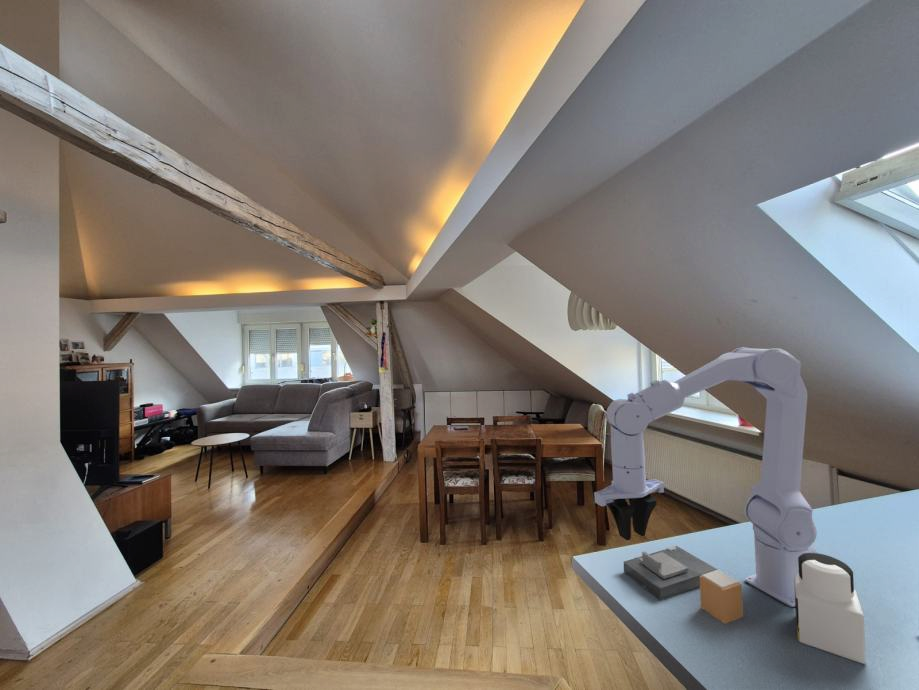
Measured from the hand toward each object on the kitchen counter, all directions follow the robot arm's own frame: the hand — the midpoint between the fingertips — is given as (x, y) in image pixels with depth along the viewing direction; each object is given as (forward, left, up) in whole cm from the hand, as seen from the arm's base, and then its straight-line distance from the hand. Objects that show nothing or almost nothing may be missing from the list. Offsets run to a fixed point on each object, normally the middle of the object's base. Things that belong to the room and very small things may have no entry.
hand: (632, 535), depth 72 cm
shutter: (-7, 0, -8) cm, 10 cm away
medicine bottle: (-18, +20, -10) cm, 29 cm away
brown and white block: (-9, +10, -10) cm, 17 cm away
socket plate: (-9, 0, -10) cm, 13 cm away
